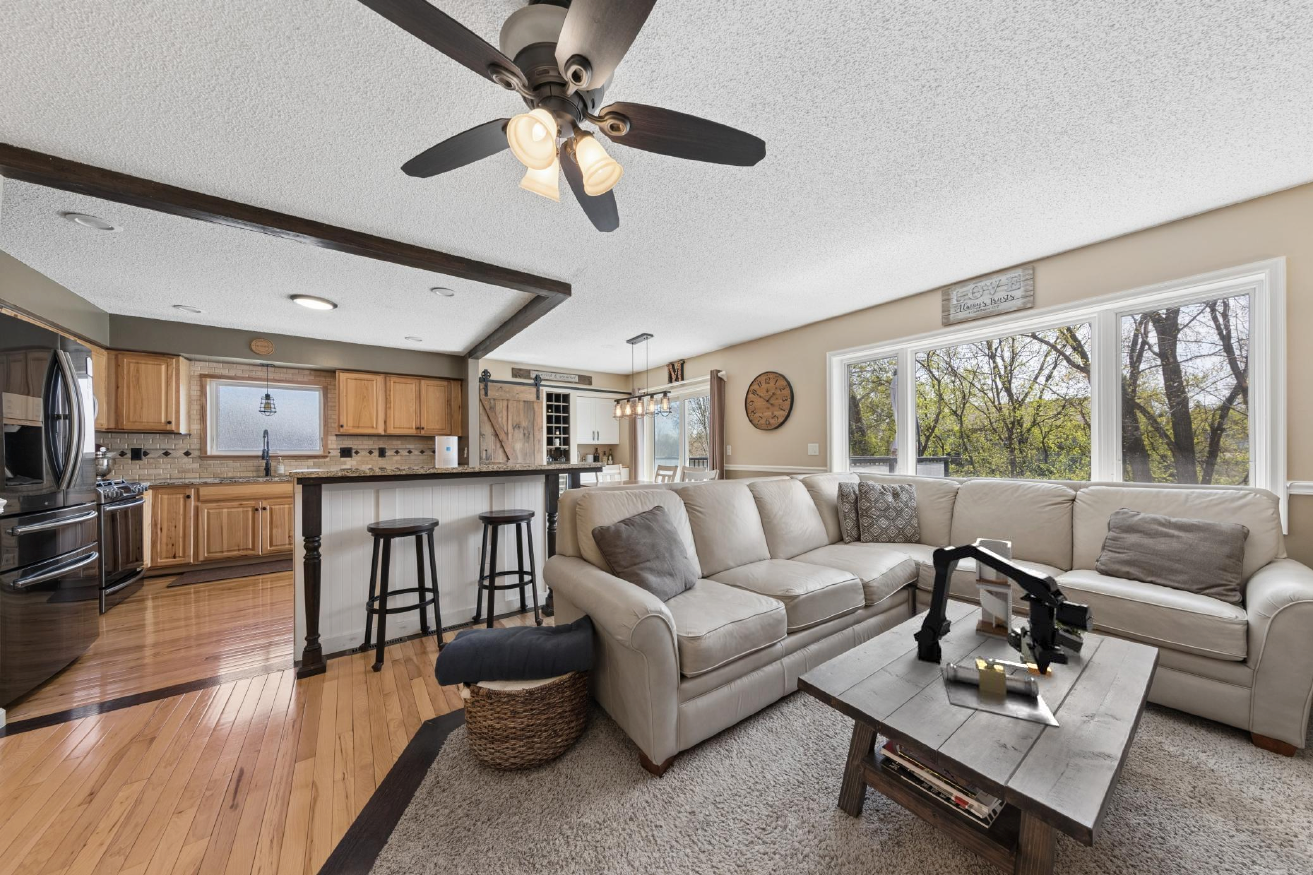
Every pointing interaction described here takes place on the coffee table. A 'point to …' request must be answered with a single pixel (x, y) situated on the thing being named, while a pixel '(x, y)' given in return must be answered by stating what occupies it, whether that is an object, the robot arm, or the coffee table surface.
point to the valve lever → (1016, 666)
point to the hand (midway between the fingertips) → (1042, 674)
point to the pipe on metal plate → (996, 692)
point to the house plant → (1074, 632)
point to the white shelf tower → (994, 593)
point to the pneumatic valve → (1020, 645)
